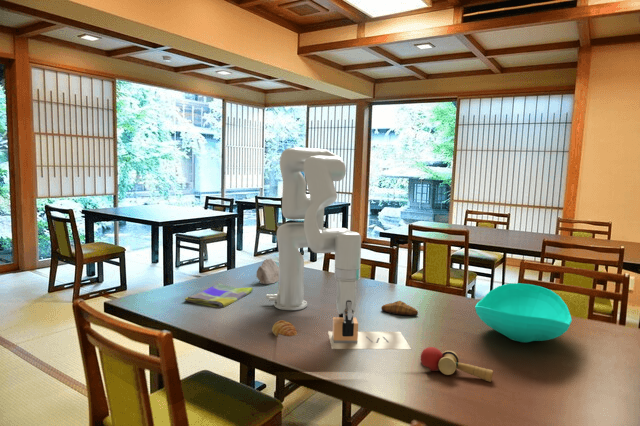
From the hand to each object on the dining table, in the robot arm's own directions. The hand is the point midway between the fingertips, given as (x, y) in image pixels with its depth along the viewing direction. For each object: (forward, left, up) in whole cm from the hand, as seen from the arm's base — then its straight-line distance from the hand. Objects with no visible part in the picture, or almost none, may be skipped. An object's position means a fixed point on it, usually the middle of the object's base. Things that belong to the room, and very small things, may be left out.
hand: (345, 329), depth 129 cm
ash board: (+7, 0, -5) cm, 8 cm away
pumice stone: (-26, +71, -5) cm, 76 cm away
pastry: (-18, +8, -5) cm, 20 cm away
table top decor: (+57, +6, -5) cm, 58 cm away
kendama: (+27, -18, -5) cm, 33 cm away
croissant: (+23, +29, -5) cm, 37 cm away
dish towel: (-45, +46, -6) cm, 65 cm away
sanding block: (0, 0, -3) cm, 3 cm away
